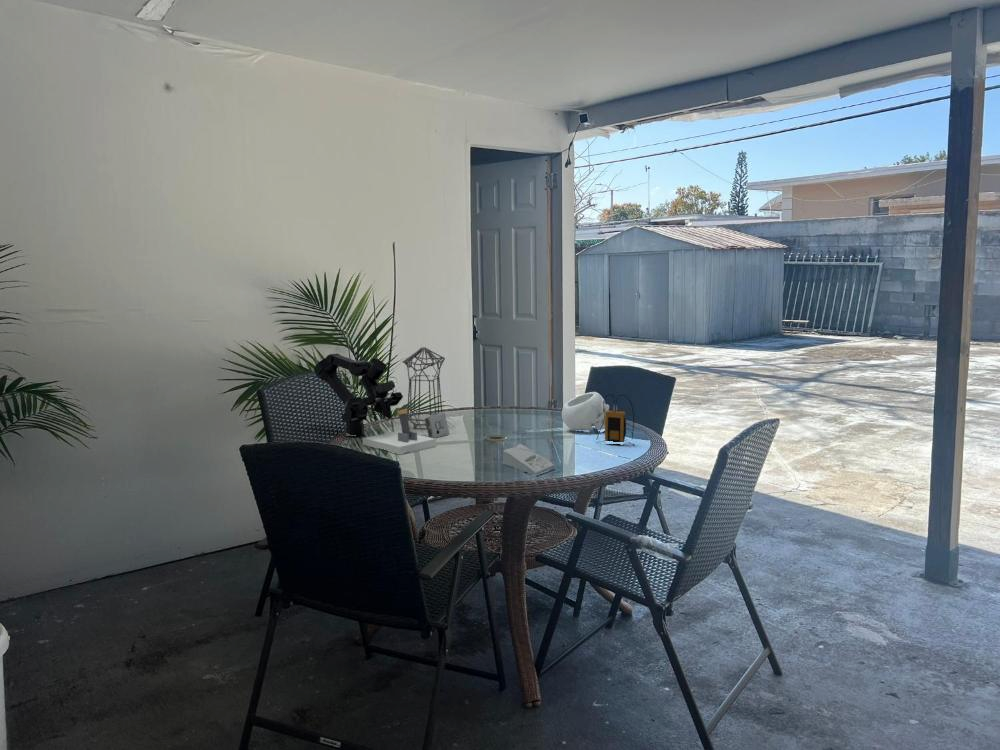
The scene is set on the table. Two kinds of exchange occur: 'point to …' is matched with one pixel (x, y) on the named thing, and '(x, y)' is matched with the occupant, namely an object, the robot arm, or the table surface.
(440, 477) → the table surface
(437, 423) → the electrical switch
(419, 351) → the geometric lantern
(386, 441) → the thin white panel
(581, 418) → the skull planter
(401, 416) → the handle
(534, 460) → the ramp
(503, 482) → the table surface
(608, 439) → the multimeter
